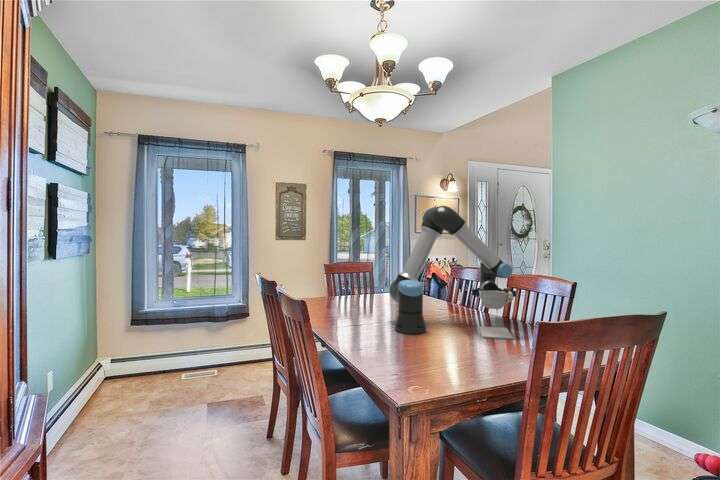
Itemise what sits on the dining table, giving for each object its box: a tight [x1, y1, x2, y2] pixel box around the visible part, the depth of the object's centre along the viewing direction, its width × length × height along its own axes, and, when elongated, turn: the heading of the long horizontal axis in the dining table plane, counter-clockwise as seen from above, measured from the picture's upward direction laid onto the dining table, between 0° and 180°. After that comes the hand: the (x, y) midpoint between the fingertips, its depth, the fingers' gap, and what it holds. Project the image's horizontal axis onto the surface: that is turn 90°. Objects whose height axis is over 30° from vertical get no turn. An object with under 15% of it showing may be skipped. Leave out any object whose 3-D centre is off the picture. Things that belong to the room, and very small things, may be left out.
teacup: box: [481, 290, 514, 310], centre depth 171 cm, size 14×11×8 cm
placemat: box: [478, 325, 515, 341], centre depth 174 cm, size 13×19×1 cm
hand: (496, 295), depth 171 cm, fingers closed on teacup, 13 cm apart
